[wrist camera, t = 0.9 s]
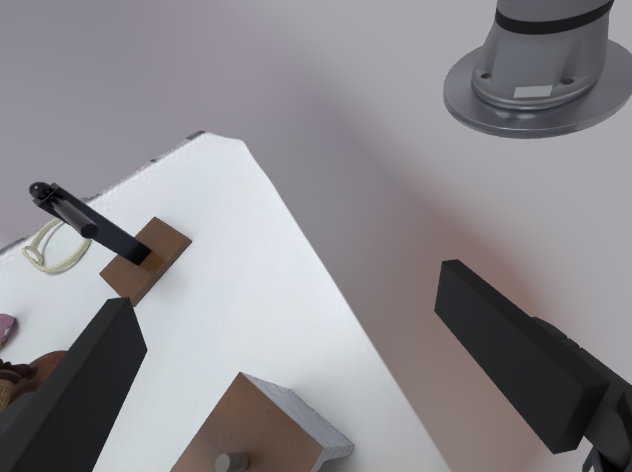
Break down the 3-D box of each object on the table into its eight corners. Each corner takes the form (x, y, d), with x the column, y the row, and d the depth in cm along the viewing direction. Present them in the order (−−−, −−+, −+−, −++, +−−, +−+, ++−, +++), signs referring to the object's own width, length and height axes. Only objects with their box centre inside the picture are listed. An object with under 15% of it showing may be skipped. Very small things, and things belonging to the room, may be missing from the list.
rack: (105, 277, 48) (-27, 211, 34) (159, 220, 52) (61, 139, 38) (155, 328, 40) (8, 269, 26) (215, 256, 43) (116, 170, 29)
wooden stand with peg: (288, 388, 31) (222, 365, 21) (354, 444, 26) (312, 448, 17) (240, 464, 28) (141, 477, 18) (305, 538, 24) (221, 607, 14)
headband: (83, 243, 51) (21, 277, 48) (100, 255, 53) (42, 289, 51) (74, 199, 59) (21, 227, 57) (89, 212, 62) (38, 239, 60)
